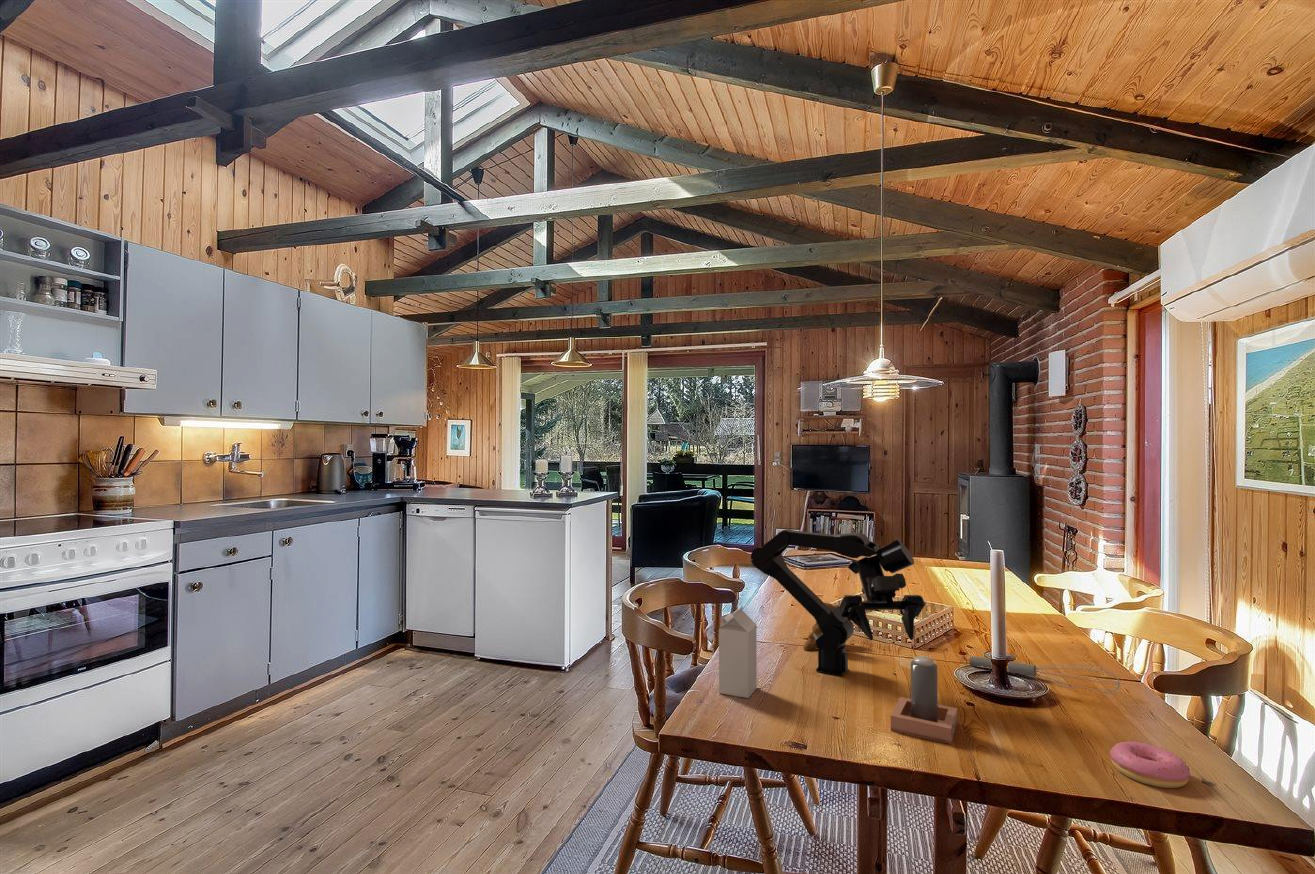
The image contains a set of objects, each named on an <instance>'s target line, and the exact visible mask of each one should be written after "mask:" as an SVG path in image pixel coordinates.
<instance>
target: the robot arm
mask: <svg viewBox="0 0 1315 874" xmlns="http://www.w3.org/2000/svg"><path fill="white" fill-rule="evenodd" d="M789 546H793V547H794V546H795V547H800V548H801V547H802V548H803V547H804V548H810V549H818V550H825V551H832V552H834V553H836V554H839V555H840V556H844V557H847V558H850V559H853V560H852V561H851V562H850V564H849V565H848V567H847V568H848V569H849V570H850V571H851V572H852V573H853V574H856V575H857V574H858V576H859V579H860V583H861V587H862V589H861V592H862V594H863V595H864V596H865V599H866V600H863V599H862V596H861V595H859V594H858V595H857V594H856V595H855V594H853V595H852V594H848V595H847V594H845V595H844V596H843V598H842V600H841V601H840V605H839V606H838V607H836V608H835V609H832V608H830V607H828V606H827V605H826V604H825V603H826V602H824V601H823V600H822V599H821V598H820V597H819V596H818V595H816V594H815V592H814V591H812V590H811V588H809V587H808V586H807V584H805V583H804V582H803V581H802V580H801V578H799V577H798V575H796V574H795V573H794V572H793V570H791V569H790V568H789V567H788V566H787V562H786V560H785V559H784V557H783V555H782V554H783V553H784V552H785V551H786V549H788V547H789ZM860 557H862V558H861V559H859V558H860ZM855 559H858V560H855ZM750 562H751V564H752V566H754V567H755V568H756V569H757V570H758V571H760V572H761V573H763V574H765V575H767V576H769V577H771V578H774V580H776V581H777V582H778V583H779V584H780V585H781V587H783V588H784V589H785V590H786V591H787V592H788V593H789V594H790V595H791V596H792V597H793V598H794V600H796V601H797V603H799V604H800V606H802V607H803V608H804V610H806V612H808V614H810V615H811V616H812V617H813V618H814V620H815V623H816V622H817V624H818V626H819V629H820V630H821V632H822V633H823V635H821V636H820V637H819V638H818V639H817V640H816V645H817V648H818V649H817V652H818V653H817V660H818V661H817V666H818V667H816V669H815V671H816V672H818V673H823V674H828V675H833V676H838V677H842V676H843V675H844V674H845V672H847V671H848V669H849V657H848V656H849V654H848V652H846V651H847V649H846V646H845V645H844V644H846V643H847V641H848V640H849V639H850V638H851V637H852V636H853V635H854V631H855V628H854V627H855V626H854V625H856V626H857V627H858V628H859V630H861V631H862V632H863V634H864V635H865V637H867V638H868V639H869V641H873V639H874V636H873V631H872V628H871V625H870V623H869V619H868V618H867V613H866V611H867V610H868V611H869V610H871V611H872V610H873V611H874V610H876V611H882V610H883V611H889V610H890V611H894V610H895V611H896V610H897V611H899V613H900V615H901V618H900V619H901V622H902V624H903V627H904V629H905V632H906V634H907V637H908V638H909V640H910V641H913V639H914V637H915V636H914V635H915V634H914V630H915V618H916V617H919V616H920V614H921V613H922V611H923V609H924V607H925V606H926V602H925V600H924V598H923V596H922V595H919V594H904V596H903V597H902V599H901V600H893V598H895V597H896V596H897V594H896V592H897V591H898V592H899V591H900V590H901V589H904V588H905V587H906V586H907V583H906V577H905V575H904V574H903V573H897V572H899V571H902V570H904V569H907V568H909V567H911V566H914V564H915V560H914V557H913V555H912V552H910V550H909V549H908V548H907V547H906V546H905V544H904V543H903V542H902V540H901V539H900V538H897V539H895V540H893V541H892V542H891V543H889V544H885V545H884V546H882V545H879V544H877V543H875V542H874V541H871V540H870V539H869V537H868V536H867V535H866V534H865V533H862V532H847V533H838V534H837V533H836V534H829V533H821V532H820V533H819V532H812V531H803V530H802V531H801V530H793V529H789V528H785V529H782V530H779V531H778V533H777V534H776V535H775V536H773V537H772V538H771V539H769V541H767V542H766V543H764V544H763V545H762V546H758V547H756V548H754V549H753V550H752V552H751V554H750ZM883 570H884V571H885V572H889V573H890V574H892V575H885V573H884V571H883Z"/></svg>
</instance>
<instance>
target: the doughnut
mask: <svg viewBox="0 0 1315 874" xmlns="http://www.w3.org/2000/svg"><path fill="white" fill-rule="evenodd" d="M1108 756H1110V760H1111V763H1112V764H1113V766H1114V767H1115V768H1116V769H1117V770H1118V772H1120V773H1122V774H1123V775H1125V776H1126V777H1128V778H1130V779H1132V780H1135V781H1136V782H1139V783H1142V784H1143V785H1148V786H1151V787H1157V788H1162V789H1176V788H1181V787H1184V786H1185V785H1186V784H1187V783H1188V782H1189V780H1190V779H1189V778H1190V776H1191V772H1190V771H1191V770H1190V768H1189V765H1187V764H1186V762H1185V761H1184V760H1183V759H1182V758H1181V757H1180V756H1178V755H1177V754H1175V753H1173V752H1171V751H1169V750H1167V749H1164V748H1163V747H1159V746H1156V745H1152V744H1149V743H1146V742H1145V743H1144V742H1142V741H1140V742H1138V741H1133V740H1132V741H1125V740H1123V741H1121V742H1116V744H1114V745H1112V748H1110V752H1109V754H1108Z"/></svg>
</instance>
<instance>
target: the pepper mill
mask: <svg viewBox="0 0 1315 874" xmlns="http://www.w3.org/2000/svg"><path fill="white" fill-rule="evenodd" d="M913 659H914V660H911V662H910V699H911V717H913V718H918V719H923V720H927V721H932V722H937V723H938V705H939V704H938V703H939V700H938V699H939V698H938V696H939V694H938V692H939V691H938V688H939V687H938V685H939V684H938V664H937V663H935V662H934V659H933V658H931V657H928V656H923V655H921V656H920V655H919V656H915V657H914V658H913Z"/></svg>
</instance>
